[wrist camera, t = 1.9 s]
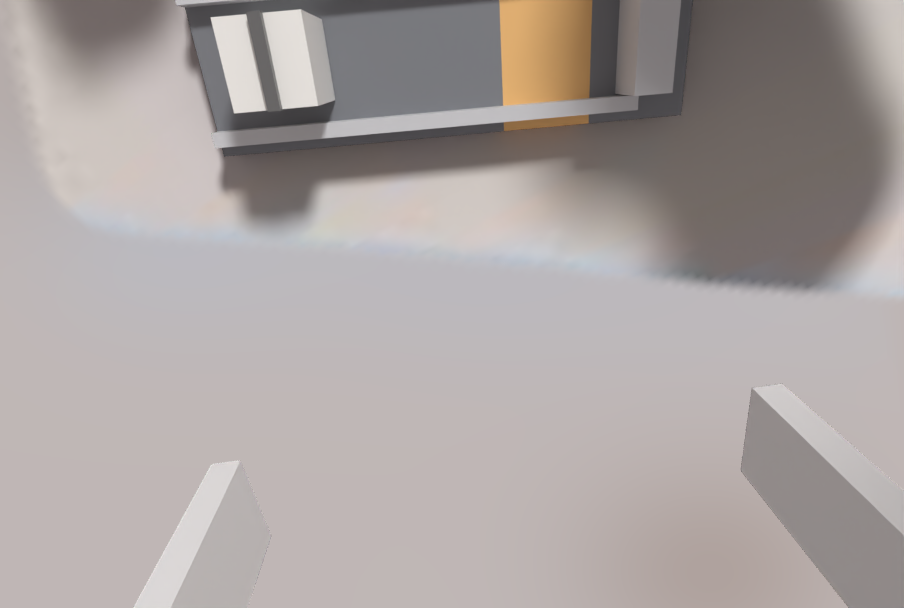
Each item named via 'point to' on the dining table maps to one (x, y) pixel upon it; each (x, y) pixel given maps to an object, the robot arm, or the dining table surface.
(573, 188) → the dining table surface
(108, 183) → the dining table surface
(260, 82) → the fader tab
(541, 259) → the dining table surface
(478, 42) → the slider track
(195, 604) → the robot arm
